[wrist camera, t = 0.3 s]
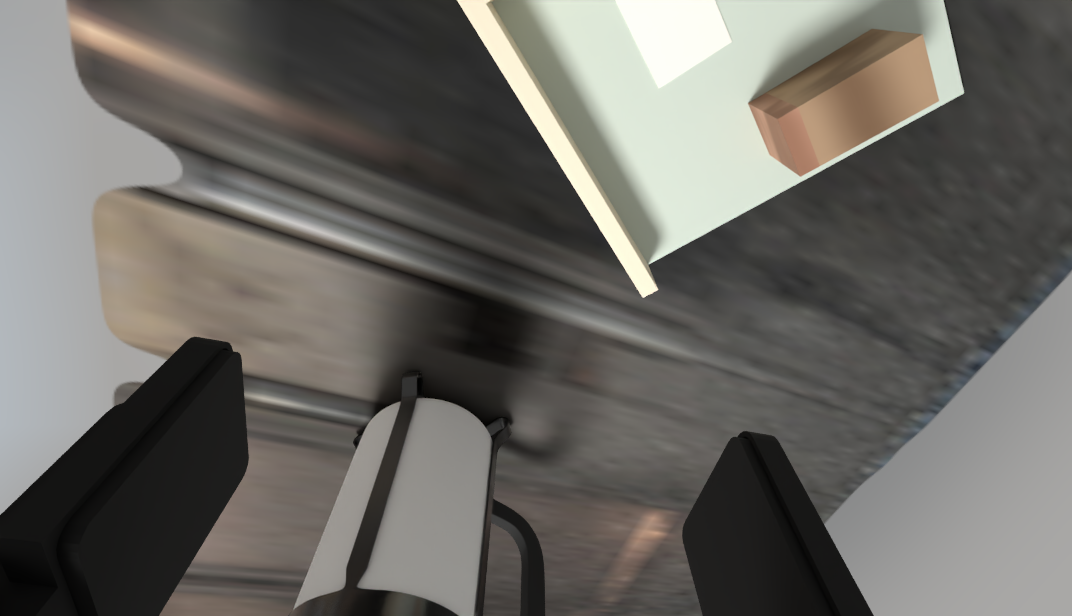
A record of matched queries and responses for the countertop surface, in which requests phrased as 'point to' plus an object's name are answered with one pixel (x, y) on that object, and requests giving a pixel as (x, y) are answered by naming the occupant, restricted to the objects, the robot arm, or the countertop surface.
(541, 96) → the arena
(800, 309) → the countertop surface
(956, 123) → the countertop surface
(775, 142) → the copper block
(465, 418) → the coffee press
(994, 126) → the countertop surface
